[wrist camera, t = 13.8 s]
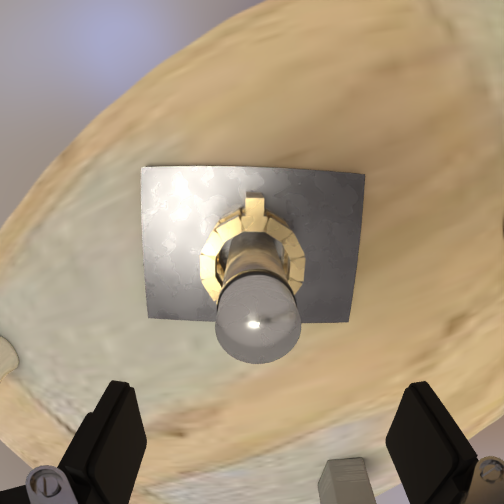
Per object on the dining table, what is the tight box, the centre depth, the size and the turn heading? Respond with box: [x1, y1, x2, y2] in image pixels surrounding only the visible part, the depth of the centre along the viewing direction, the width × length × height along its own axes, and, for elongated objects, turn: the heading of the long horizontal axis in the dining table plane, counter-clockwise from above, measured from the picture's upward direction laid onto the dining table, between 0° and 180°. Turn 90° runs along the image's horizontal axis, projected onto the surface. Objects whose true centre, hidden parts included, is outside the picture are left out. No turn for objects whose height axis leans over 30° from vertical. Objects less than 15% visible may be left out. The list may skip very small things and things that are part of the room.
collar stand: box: [141, 166, 365, 323], centre depth 29 cm, size 22×16×8 cm
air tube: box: [215, 231, 301, 364], centre depth 24 cm, size 5×5×16 cm
